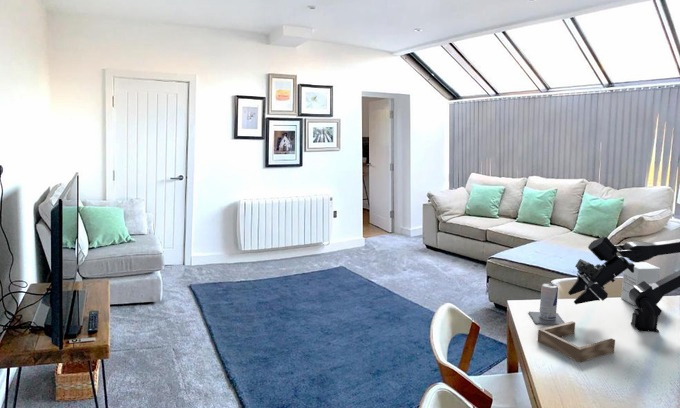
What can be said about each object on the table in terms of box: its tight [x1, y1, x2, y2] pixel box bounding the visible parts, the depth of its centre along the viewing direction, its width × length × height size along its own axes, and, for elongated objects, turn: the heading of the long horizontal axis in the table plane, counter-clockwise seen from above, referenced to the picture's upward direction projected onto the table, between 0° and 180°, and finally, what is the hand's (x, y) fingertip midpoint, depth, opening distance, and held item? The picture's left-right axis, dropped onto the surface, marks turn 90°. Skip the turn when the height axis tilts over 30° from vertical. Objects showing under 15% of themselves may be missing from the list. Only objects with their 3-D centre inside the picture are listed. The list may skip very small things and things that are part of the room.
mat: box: [528, 311, 566, 326], centre depth 173 cm, size 10×10×1 cm
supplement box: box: [620, 261, 662, 307], centre depth 188 cm, size 9×9×15 cm
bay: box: [537, 321, 616, 363], centre depth 151 cm, size 15×15×4 cm
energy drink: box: [539, 282, 559, 320], centre depth 172 cm, size 5×5×12 cm
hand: (571, 298), depth 169 cm, fingers open, 9 cm apart
